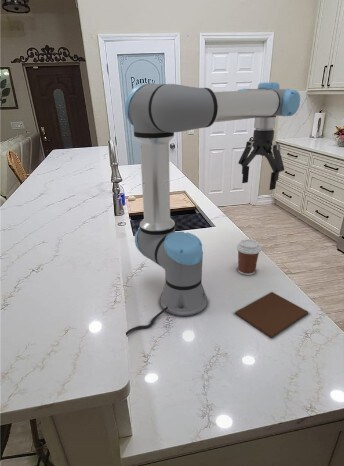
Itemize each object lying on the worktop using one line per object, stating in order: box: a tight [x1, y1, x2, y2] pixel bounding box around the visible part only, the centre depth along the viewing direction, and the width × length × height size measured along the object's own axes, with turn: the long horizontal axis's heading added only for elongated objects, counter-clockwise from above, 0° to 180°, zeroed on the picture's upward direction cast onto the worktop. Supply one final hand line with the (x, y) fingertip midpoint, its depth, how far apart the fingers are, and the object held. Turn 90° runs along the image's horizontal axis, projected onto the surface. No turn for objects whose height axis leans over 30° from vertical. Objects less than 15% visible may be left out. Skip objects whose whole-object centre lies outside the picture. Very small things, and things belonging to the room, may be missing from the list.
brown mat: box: [234, 291, 309, 339], centre depth 103 cm, size 18×14×1 cm
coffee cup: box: [235, 238, 262, 276], centre depth 124 cm, size 9×9×12 cm
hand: (258, 185), depth 131 cm, fingers open, 13 cm apart
